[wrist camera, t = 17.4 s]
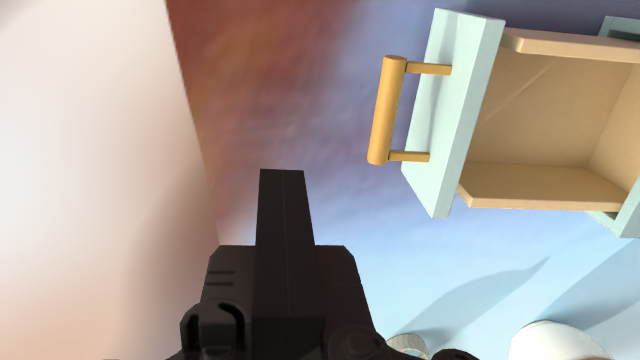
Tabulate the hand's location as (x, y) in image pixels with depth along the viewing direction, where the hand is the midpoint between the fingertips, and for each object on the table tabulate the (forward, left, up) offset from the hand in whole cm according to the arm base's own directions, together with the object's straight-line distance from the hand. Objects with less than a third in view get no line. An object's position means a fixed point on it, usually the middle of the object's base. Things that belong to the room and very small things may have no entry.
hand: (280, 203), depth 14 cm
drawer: (-11, -13, -16) cm, 23 cm away
